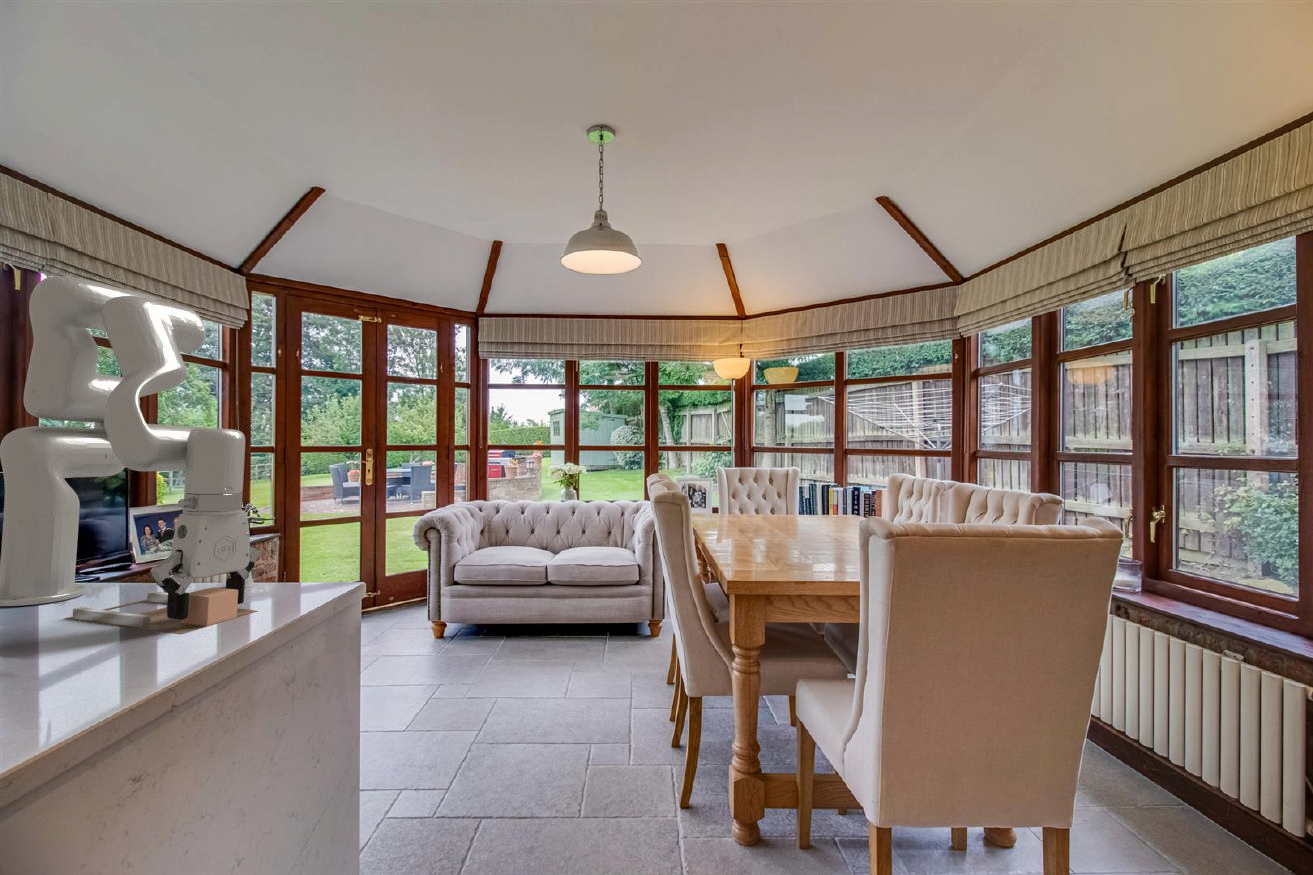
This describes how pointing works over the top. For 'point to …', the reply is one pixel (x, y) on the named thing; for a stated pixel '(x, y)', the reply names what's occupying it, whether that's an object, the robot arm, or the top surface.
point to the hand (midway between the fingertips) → (207, 610)
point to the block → (211, 606)
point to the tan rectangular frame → (142, 617)
